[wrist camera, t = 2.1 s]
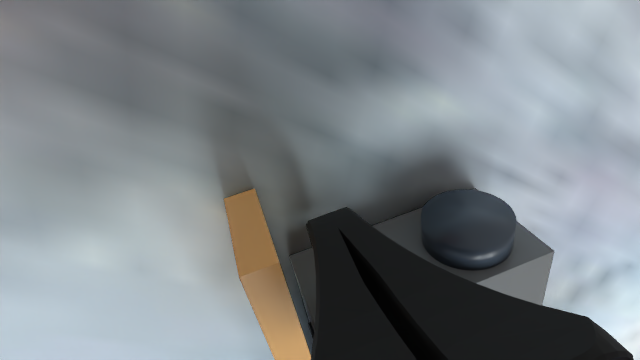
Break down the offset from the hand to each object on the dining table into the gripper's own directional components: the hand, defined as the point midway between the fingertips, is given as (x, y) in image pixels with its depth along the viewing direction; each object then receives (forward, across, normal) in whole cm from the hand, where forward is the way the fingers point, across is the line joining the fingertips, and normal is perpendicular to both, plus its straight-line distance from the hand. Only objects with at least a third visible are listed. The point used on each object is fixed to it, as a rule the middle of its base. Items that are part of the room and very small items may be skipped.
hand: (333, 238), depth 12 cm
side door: (+2, +2, +6) cm, 7 cm away
